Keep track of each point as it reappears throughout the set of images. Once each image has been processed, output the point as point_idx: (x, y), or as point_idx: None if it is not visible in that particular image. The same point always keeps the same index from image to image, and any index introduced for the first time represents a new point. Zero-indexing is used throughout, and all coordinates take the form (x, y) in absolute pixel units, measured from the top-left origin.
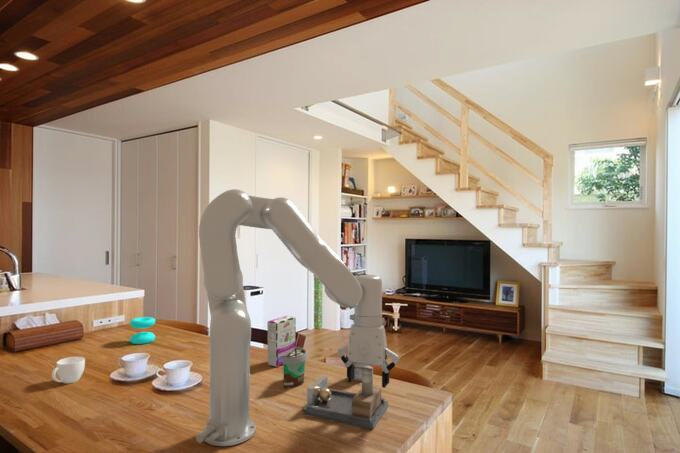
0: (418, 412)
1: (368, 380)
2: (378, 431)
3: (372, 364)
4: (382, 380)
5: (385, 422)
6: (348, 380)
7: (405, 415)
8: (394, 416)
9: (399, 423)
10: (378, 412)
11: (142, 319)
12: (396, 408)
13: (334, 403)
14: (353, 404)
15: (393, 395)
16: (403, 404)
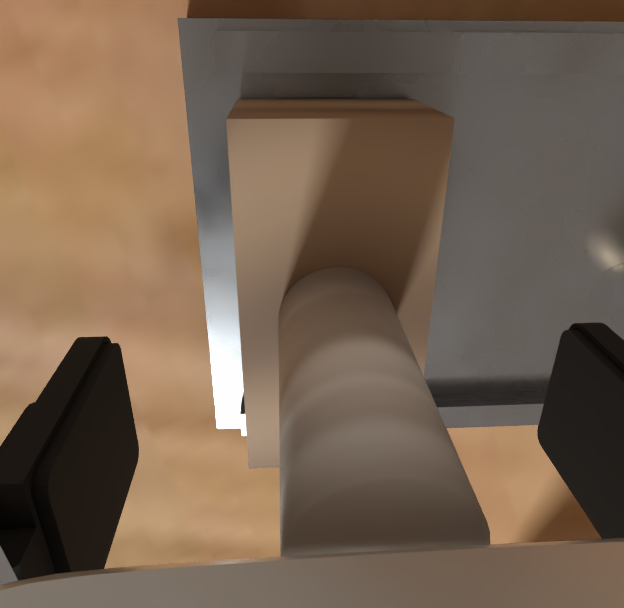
0: (5, 412)
1: (319, 369)
2: (132, 7)
3: (179, 574)
4: (81, 394)
5: (145, 185)
6: (605, 328)
7: (62, 342)
8: (125, 299)
9: (44, 215)
10: (216, 242)
11: None
12: (161, 406)
13: (603, 243)
14: (422, 111)
15: (245, 539)
16: (142, 467)
